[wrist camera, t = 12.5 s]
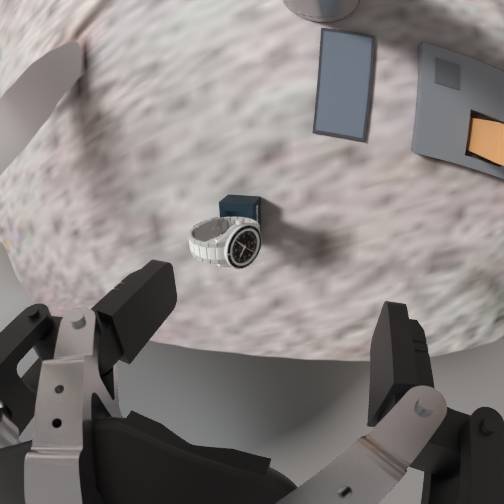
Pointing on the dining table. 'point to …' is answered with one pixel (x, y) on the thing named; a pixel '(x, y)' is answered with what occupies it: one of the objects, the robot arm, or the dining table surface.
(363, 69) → the phone
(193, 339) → the dining table surface
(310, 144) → the dining table surface
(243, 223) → the watch
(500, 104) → the outlet plate
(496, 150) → the block
